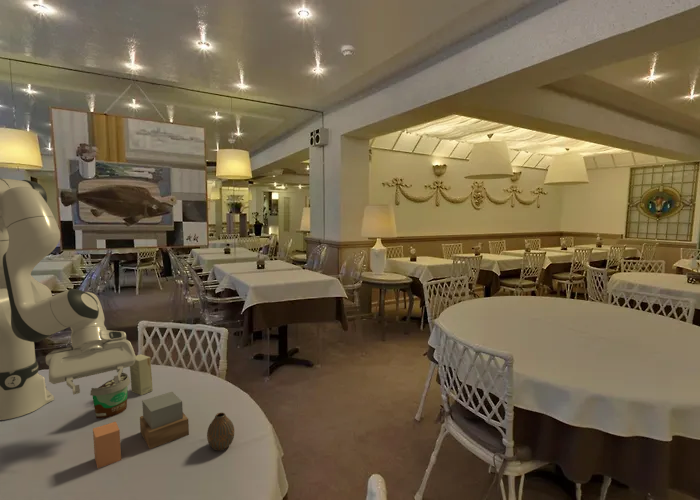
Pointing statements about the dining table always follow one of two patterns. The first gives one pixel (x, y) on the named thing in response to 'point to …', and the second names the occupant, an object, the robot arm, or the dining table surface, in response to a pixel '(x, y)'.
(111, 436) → the terracotta block
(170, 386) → the dining table surface
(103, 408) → the food container
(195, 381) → the dining table surface
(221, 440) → the vase
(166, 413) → the tower top block
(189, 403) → the dining table surface
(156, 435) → the tower base block
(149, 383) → the skincare box
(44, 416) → the dining table surface
